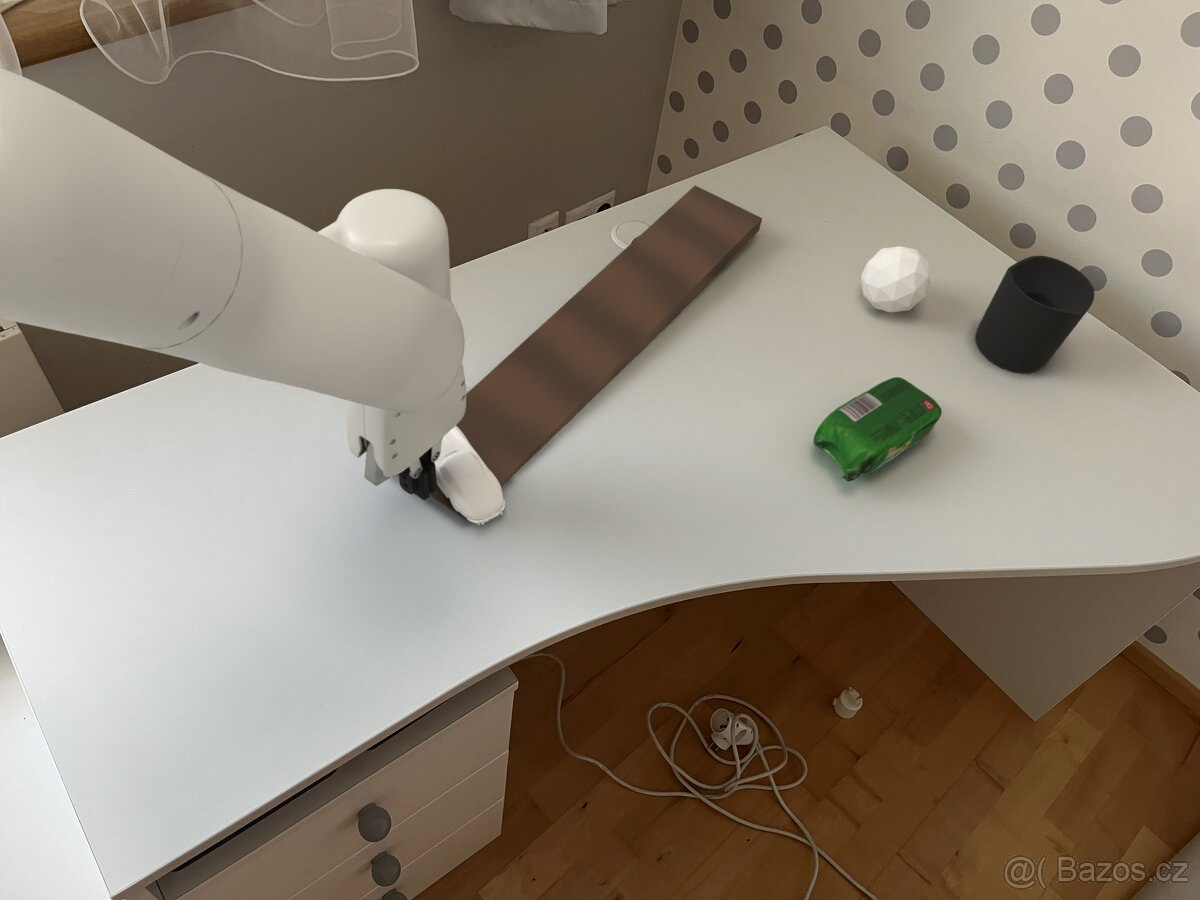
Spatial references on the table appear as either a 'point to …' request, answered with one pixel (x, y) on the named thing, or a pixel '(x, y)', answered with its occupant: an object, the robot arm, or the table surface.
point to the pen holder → (1033, 313)
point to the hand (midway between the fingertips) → (418, 487)
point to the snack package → (877, 426)
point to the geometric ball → (896, 279)
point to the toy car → (467, 479)
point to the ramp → (600, 331)
